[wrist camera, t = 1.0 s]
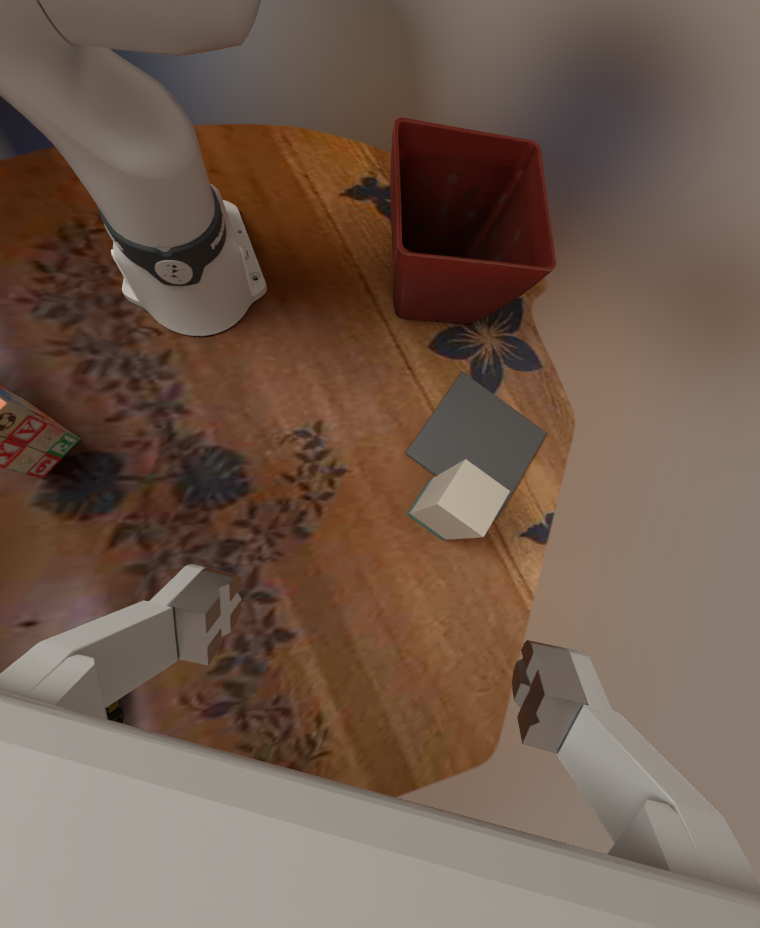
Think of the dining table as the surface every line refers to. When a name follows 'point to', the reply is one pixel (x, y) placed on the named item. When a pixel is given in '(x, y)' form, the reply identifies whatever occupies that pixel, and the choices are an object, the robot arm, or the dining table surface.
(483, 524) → the cream block
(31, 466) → the stack of blocks
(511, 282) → the plant pot
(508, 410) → the mat
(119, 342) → the dining table surface
